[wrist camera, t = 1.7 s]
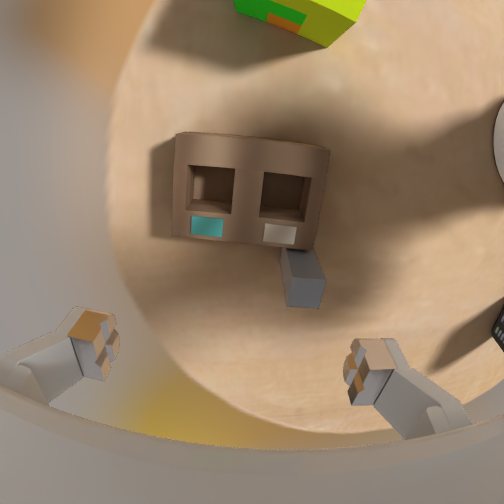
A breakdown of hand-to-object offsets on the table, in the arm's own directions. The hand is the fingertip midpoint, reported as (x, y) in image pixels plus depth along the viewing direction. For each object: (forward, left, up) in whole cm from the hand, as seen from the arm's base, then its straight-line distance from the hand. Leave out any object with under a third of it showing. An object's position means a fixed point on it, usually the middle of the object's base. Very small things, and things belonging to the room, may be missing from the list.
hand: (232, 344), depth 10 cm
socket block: (0, 0, -24) cm, 24 cm away
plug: (-6, +7, -24) cm, 26 cm away
